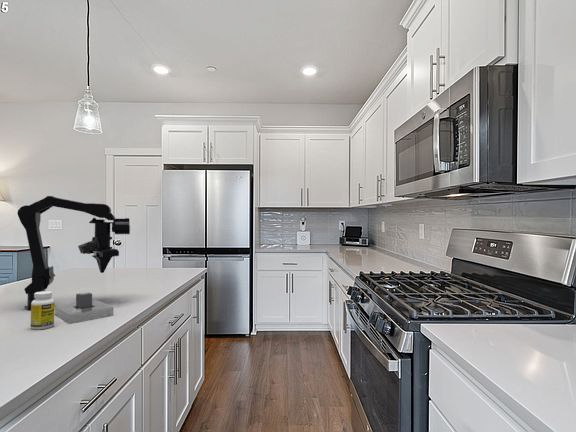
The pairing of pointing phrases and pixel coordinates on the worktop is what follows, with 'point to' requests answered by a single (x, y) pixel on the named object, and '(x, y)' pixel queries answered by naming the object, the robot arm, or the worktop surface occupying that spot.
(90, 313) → the socket plate
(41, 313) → the pill bottle
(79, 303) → the plug
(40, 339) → the worktop surface
